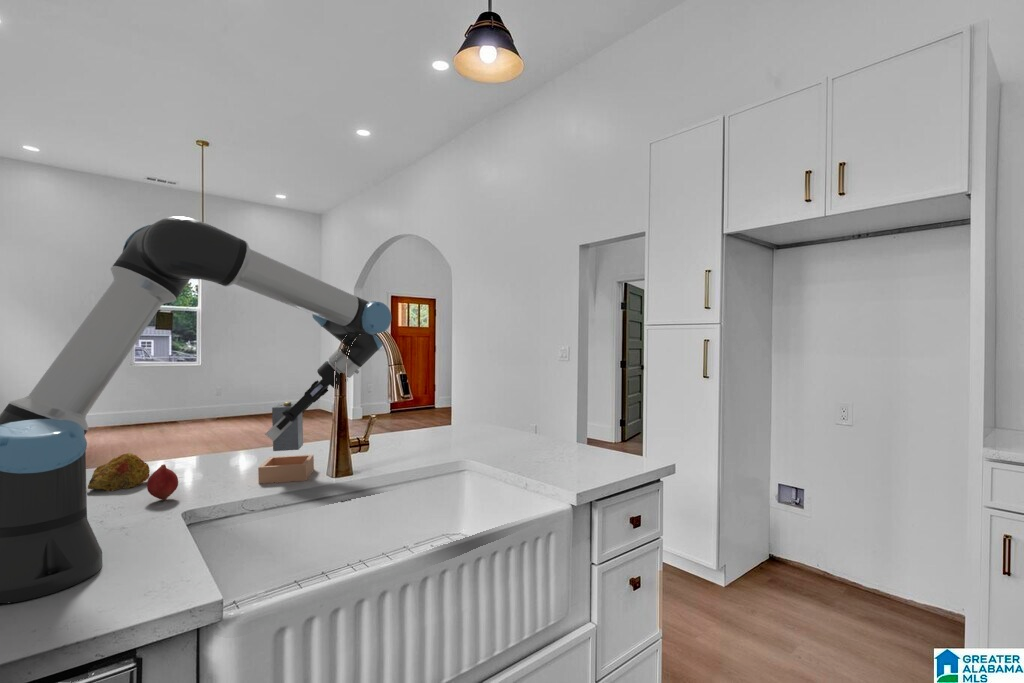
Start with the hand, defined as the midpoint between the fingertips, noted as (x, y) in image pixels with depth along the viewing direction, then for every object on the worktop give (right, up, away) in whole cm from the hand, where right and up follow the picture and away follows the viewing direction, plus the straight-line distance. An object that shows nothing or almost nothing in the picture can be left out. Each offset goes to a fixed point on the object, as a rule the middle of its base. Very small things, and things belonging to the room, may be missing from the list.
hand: (273, 434), depth 133 cm
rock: (-35, -12, -6) cm, 37 cm away
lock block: (+4, -4, +1) cm, 5 cm away
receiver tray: (+3, -11, +1) cm, 11 cm away
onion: (-16, -12, -18) cm, 27 cm away
